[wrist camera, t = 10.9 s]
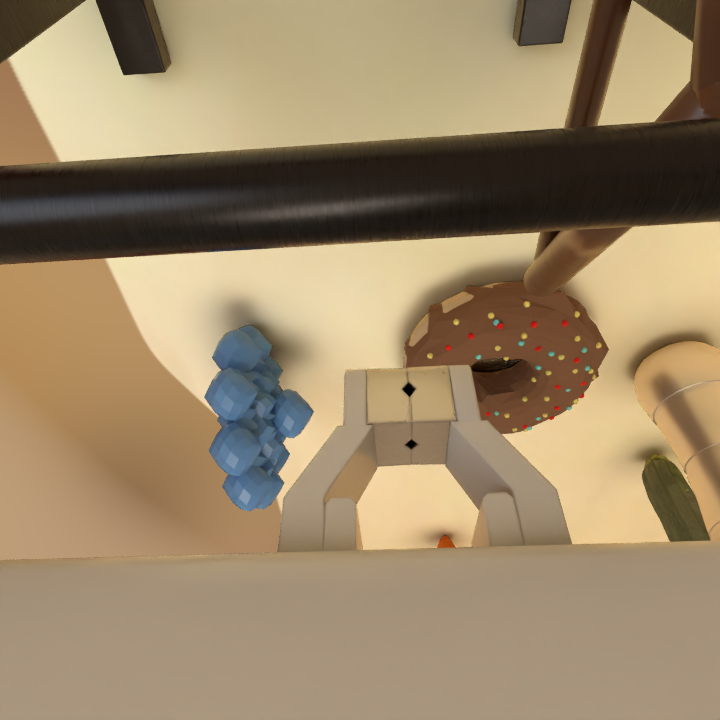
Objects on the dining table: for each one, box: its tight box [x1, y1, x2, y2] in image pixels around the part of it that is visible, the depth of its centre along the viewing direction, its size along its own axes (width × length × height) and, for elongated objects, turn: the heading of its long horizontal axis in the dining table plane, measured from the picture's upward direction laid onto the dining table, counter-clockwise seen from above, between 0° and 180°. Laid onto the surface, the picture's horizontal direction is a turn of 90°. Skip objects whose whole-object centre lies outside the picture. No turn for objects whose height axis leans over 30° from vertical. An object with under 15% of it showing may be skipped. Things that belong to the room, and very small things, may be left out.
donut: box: [403, 281, 609, 434], centre depth 36 cm, size 14×14×5 cm
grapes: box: [205, 325, 314, 511], centre depth 35 cm, size 12×7×12 cm, turn 7°
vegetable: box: [642, 454, 711, 542], centre depth 43 cm, size 4×4×20 cm
